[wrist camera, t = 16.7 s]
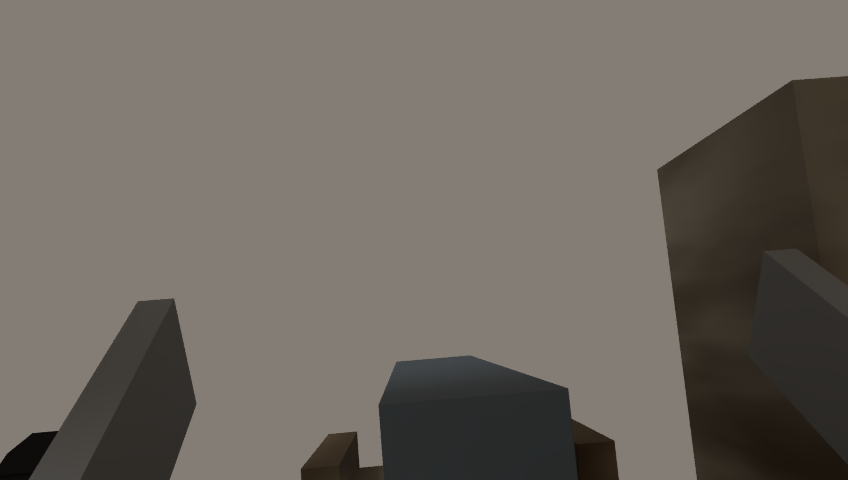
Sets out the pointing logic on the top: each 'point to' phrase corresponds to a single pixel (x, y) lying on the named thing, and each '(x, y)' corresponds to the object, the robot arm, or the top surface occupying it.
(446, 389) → the rod
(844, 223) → the stand
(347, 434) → the rest block
